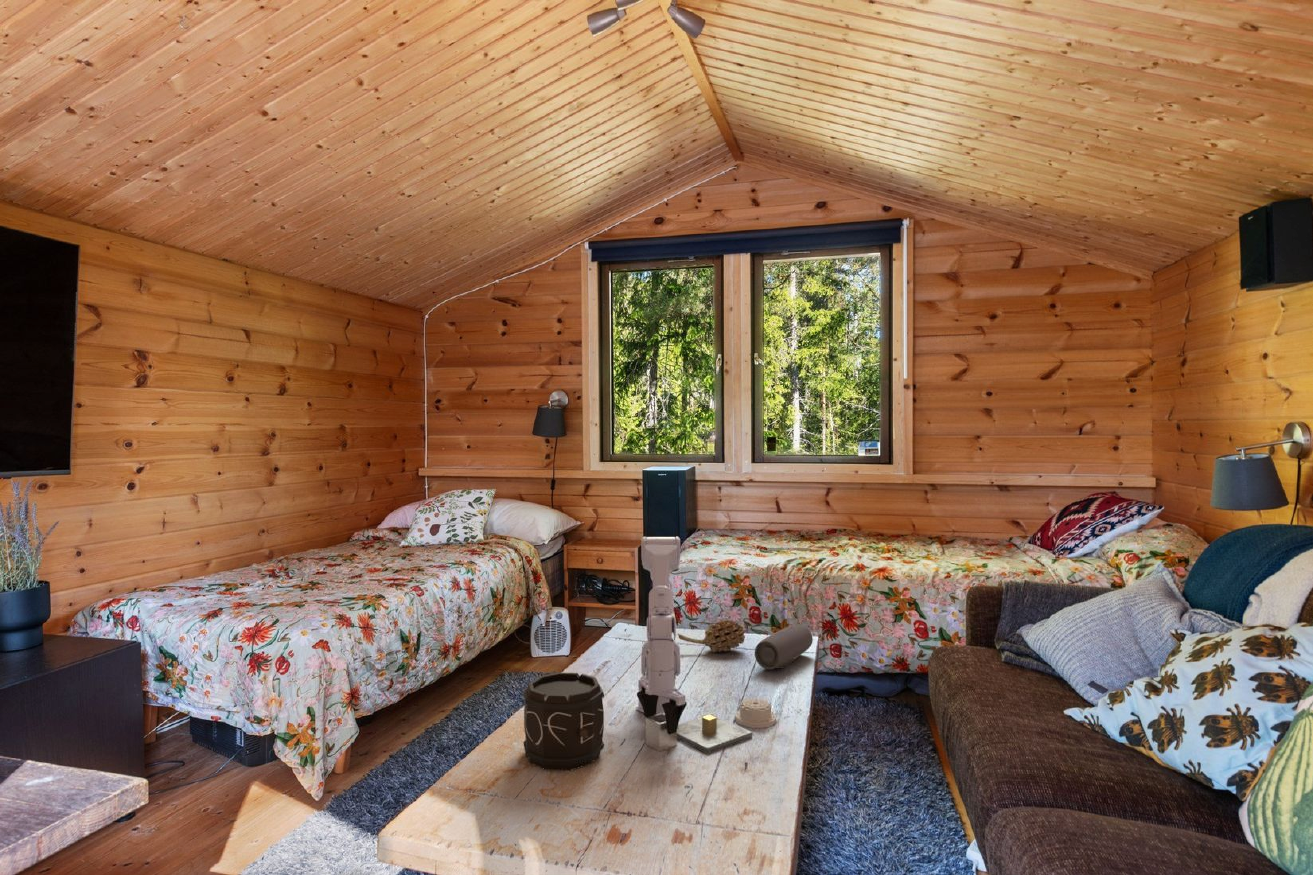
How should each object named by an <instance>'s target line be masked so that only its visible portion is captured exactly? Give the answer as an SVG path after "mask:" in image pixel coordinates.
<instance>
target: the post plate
mask: <svg viewBox="0 0 1313 875" xmlns="http://www.w3.org/2000/svg"><path fill="white" fill-rule="evenodd" d="M751 738H753V732H752V731H750V730H748V729H746V728H744V727H742V726H740V725H737V724H735V723H733V722H730V721H728V720H726V719H723V718H722V717H719V716H718V715H717V716H716V715H714V714H712V713H710V714H706V715H704V716H701V717H698V718H694V719H690V720H688V721H685V722H683V723H678V727H677V740H679V741H682V742H683V743H686V745H687V744H688V745H689V746H691V747H693V748H695V749H697V750H699V751H701V752H703V753H705V754H710V753H713V752H716V751H718V750H721V749H724V748H726V747H730V746H732V745H734V744H737V743H741V742H743V741H745V740H749V739H751Z"/></svg>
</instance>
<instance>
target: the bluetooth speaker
mask: <svg viewBox="0 0 1313 875" xmlns="http://www.w3.org/2000/svg"><path fill="white" fill-rule="evenodd" d="M813 640H814V639H813V635H812V632H811V631H810V629H809V628H808V627H807V626H806V625H804V624H800V623H799V624H798V623H797V624H793V625H790V626H788V627H785V628H783V629H780V630H778V631H776V632H774V633H772V634H771V635H768V636H767V637H765V638H763V639H762V640H761V641H759V643H757V644H756V646H755V649H754V659H755V660H756V663H758V665H759V666H760V667H762V668H763V669H766V670H773V669H782V668H781V667H783V668H785V667H787V666H789V665H791V664H792V663H794V662H795V661H796V659H797V658H798V657H800V656H801V655H802V654H804V653H806V652H807V650H808V649H810V647H811V646H812V644H813ZM793 661H794V662H793ZM790 663H791V664H790ZM788 664H789V665H788ZM777 667H778V668H777Z"/></svg>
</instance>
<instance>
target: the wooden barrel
mask: <svg viewBox="0 0 1313 875" xmlns="http://www.w3.org/2000/svg"><path fill="white" fill-rule="evenodd" d="M522 695H523V700H524V709H523V718H524V720H523V725H524V726H523V727H524V735H525V740H524V741H523V748H524V753H525V757H526V758H528V759H529V763H530V764H531V763H532V764H531V765H533V764H535V765H534V766H536V765H537V766H536V767H538V766H539V767H538V768H540V769H543V768H544V769H543V770H545V769H546V771H566V770H569V771H572V770H571V769H573V768H576V769H579V768H578V767H580V768H582V767H581V766H584V767H586V766H585V765H588V764H590V765H591V764H592V763H593V762H594V761H595V760H597V759H598V758H599V757H600V756H599V755H600V754H601V752H602V750H603V749H604V747H605V742H604V741H603V739H604V730H605V726H604V725H605V723H604V722H605V721H604V720H605V715H604V714H605V713H604V703H603V698H604V697H605V693H604V690H603V689H602V687H601V684H600V683H599V681H598V679H597V677H595V676H591V675H588V674H585V673H582V674H579V673H578V672H555V673H550V674H545V675H540V676H538V677H537V678H535V679H533V680H532V681H531V680H530V682H528V684H527V688H525V689H524V690H523V693H522ZM598 756H599V757H598ZM597 757H598V758H597ZM593 760H594V761H593ZM588 766H589V765H588ZM573 770H574V769H573Z"/></svg>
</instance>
